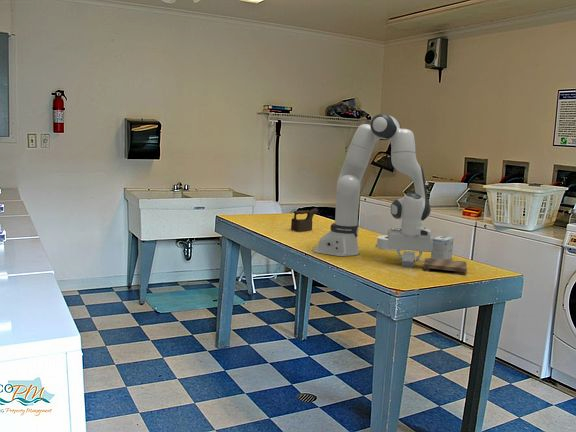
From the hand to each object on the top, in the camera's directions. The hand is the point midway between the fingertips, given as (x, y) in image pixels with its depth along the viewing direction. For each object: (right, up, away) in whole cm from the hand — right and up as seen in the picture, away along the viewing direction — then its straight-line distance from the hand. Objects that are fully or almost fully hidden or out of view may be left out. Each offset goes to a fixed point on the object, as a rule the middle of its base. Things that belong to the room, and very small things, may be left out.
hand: (408, 259), depth 242 cm
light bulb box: (+19, -1, +16) cm, 25 cm away
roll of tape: (0, +3, +40) cm, 40 cm away
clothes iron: (-45, +11, +80) cm, 93 cm away
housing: (0, -3, 0) cm, 3 cm away
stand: (+15, -4, -4) cm, 16 cm away
